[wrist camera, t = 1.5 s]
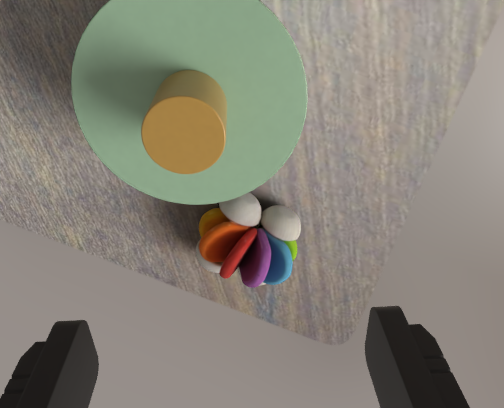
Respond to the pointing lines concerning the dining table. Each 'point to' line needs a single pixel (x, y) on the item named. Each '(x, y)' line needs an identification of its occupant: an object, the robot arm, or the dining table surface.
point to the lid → (189, 95)
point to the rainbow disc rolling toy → (249, 241)
